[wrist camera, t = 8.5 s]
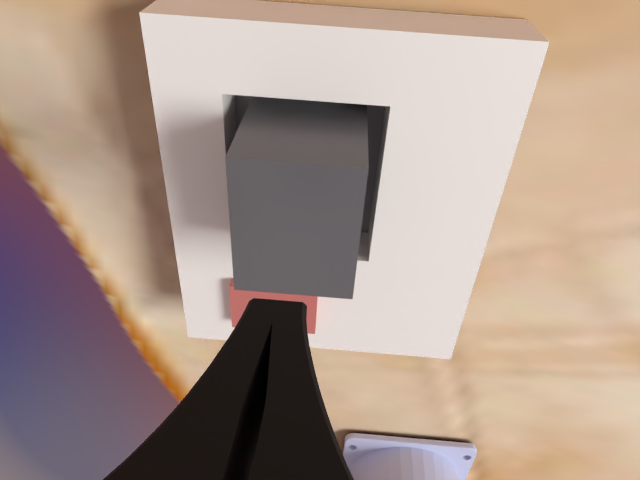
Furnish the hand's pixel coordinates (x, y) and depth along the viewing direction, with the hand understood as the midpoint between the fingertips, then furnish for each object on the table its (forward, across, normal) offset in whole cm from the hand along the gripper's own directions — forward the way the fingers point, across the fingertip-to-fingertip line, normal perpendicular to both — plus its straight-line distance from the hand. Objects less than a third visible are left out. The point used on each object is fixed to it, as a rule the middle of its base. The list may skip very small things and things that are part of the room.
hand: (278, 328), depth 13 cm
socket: (+9, -1, +2) cm, 10 cm away
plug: (+9, 0, 0) cm, 9 cm away
